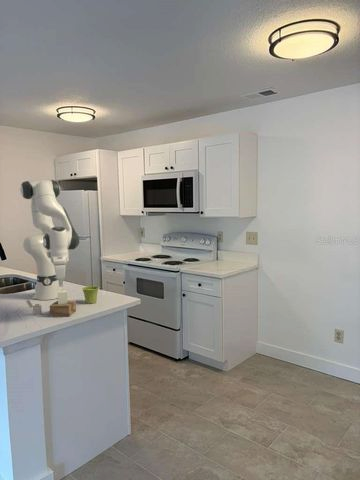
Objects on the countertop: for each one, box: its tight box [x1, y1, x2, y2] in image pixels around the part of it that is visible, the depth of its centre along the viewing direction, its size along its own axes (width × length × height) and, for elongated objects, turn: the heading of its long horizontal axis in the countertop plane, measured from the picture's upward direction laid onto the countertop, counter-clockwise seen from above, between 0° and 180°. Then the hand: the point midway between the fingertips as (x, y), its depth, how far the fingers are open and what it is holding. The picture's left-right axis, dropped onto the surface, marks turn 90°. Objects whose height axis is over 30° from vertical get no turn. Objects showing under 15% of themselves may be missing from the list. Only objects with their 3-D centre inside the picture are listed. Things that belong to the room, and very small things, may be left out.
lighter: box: [25, 299, 43, 316], centre depth 188 cm, size 7×2×8 cm, turn 111°
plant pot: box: [81, 285, 100, 305], centre depth 208 cm, size 9×9×9 cm
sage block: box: [57, 289, 68, 304], centre depth 188 cm, size 4×4×6 cm
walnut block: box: [49, 299, 77, 318], centre depth 188 cm, size 10×10×6 cm
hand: (60, 284), depth 187 cm, fingers open, 8 cm apart
